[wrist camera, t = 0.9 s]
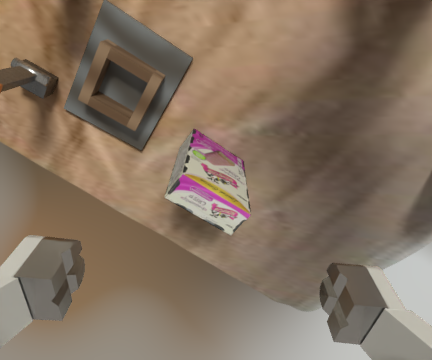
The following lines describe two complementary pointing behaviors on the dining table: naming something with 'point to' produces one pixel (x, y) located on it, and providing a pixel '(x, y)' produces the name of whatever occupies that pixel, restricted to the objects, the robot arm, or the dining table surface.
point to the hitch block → (125, 77)
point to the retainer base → (37, 78)
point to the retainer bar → (15, 77)
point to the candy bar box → (210, 183)
